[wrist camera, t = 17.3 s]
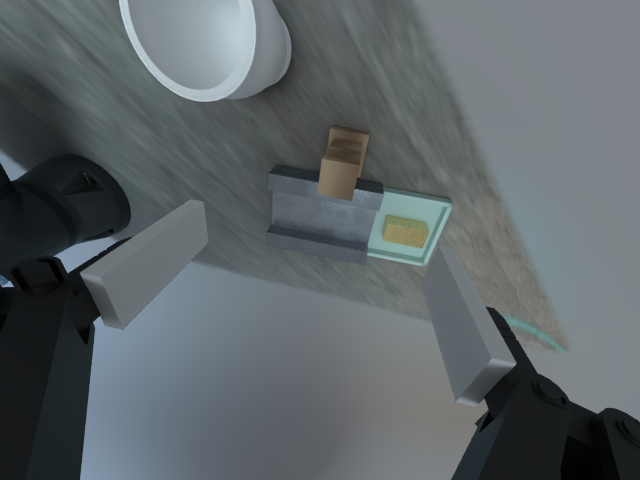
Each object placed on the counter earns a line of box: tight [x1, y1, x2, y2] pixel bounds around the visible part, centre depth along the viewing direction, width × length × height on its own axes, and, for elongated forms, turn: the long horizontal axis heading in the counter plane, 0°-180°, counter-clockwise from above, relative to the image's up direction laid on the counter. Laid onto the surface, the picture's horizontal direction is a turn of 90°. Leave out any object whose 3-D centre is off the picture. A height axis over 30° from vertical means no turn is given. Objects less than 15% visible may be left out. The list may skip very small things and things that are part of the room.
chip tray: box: [367, 187, 454, 267], centre depth 40 cm, size 10×11×2 cm
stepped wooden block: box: [317, 125, 369, 201], centre depth 30 cm, size 5×6×14 cm
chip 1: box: [382, 215, 409, 245], centre depth 39 cm, size 3×3×3 cm
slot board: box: [267, 165, 384, 265], centre depth 39 cm, size 16×12×4 cm
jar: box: [119, 0, 292, 102], centre depth 25 cm, size 11×10×15 cm
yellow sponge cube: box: [403, 219, 430, 249], centre depth 39 cm, size 3×3×3 cm
